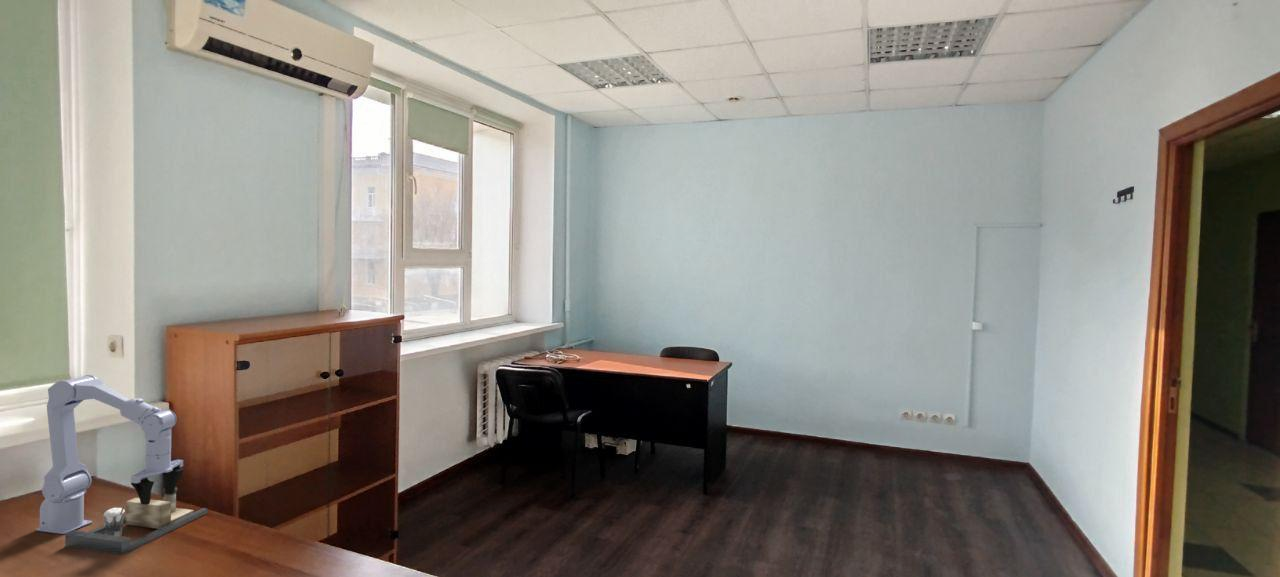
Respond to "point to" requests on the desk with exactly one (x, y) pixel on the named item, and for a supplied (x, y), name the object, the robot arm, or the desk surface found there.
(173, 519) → the clamp jaw
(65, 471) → the robot arm
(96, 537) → the grey tray
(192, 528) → the desk surface
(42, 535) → the desk surface
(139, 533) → the desk surface
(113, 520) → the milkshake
